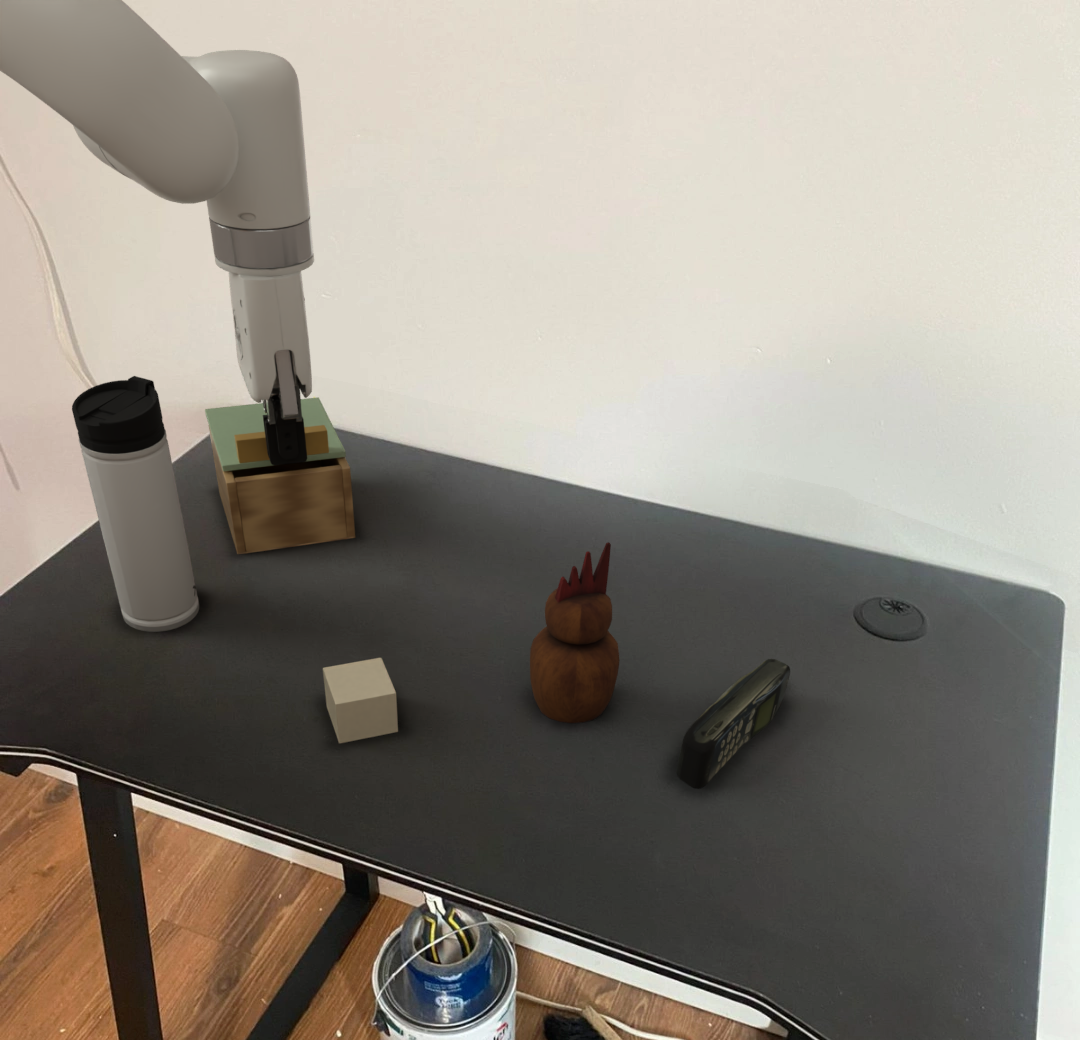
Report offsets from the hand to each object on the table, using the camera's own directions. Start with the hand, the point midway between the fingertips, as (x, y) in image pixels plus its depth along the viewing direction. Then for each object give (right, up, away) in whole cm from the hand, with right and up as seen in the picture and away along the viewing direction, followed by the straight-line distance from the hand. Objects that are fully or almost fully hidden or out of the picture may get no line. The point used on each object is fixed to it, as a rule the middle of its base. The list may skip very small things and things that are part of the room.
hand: (287, 459), depth 94 cm
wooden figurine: (+25, -22, -9) cm, 34 cm away
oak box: (-3, -4, +10) cm, 11 cm away
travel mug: (-10, -14, -2) cm, 18 cm away
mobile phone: (+37, -25, -11) cm, 46 cm away
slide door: (-3, +4, +6) cm, 8 cm away
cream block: (+9, -23, -12) cm, 28 cm away
